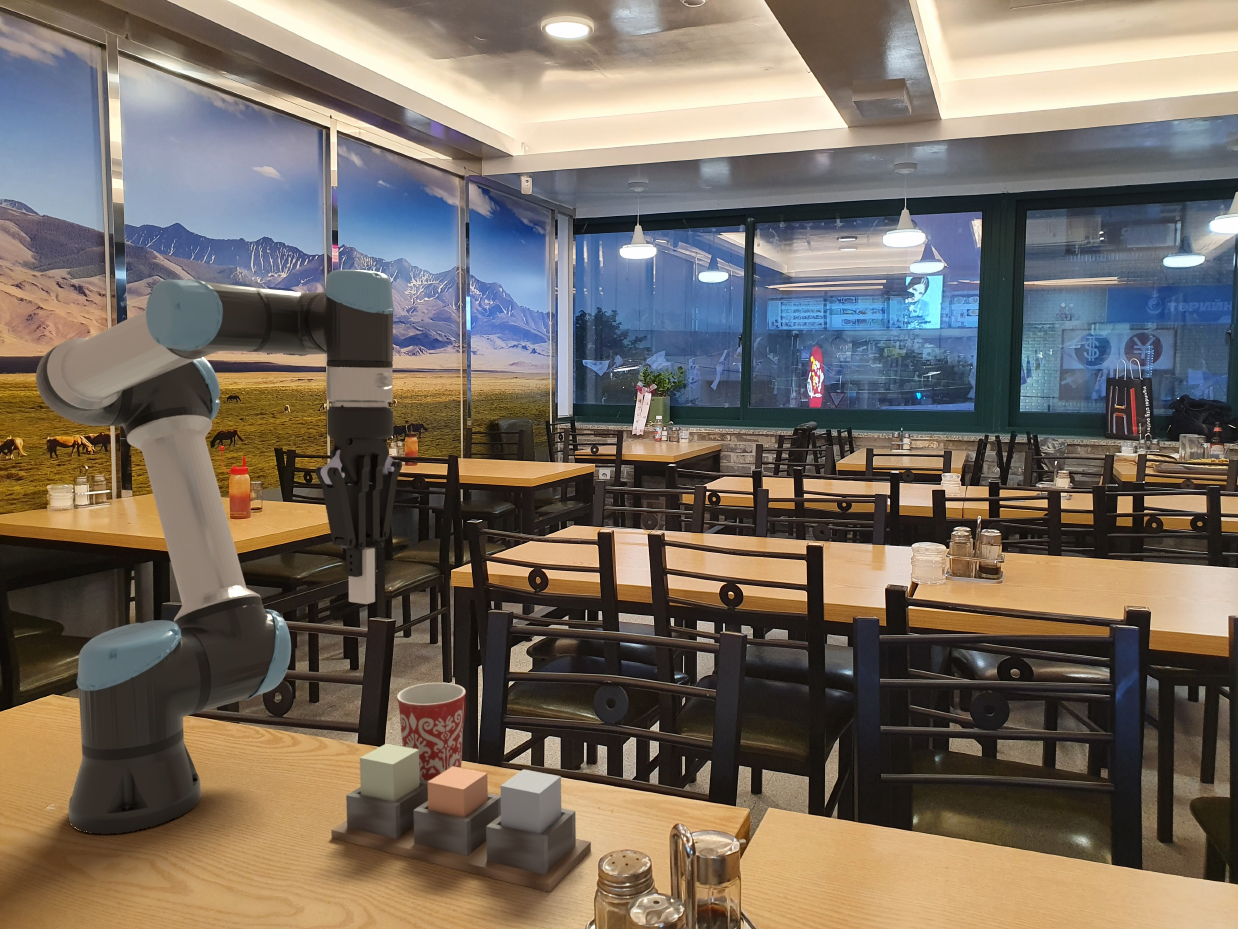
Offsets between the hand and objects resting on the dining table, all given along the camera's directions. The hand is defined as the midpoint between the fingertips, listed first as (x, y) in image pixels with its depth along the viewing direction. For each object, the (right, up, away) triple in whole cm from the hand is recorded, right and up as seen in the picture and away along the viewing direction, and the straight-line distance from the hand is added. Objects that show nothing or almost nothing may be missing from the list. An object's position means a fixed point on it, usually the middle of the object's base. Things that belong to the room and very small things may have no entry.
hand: (361, 601), depth 109 cm
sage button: (+3, -25, +3) cm, 25 cm away
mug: (+6, -28, +16) cm, 33 cm away
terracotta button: (+12, -27, -1) cm, 29 cm away
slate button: (+21, -26, -5) cm, 33 cm away
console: (+12, -29, -1) cm, 31 cm away
